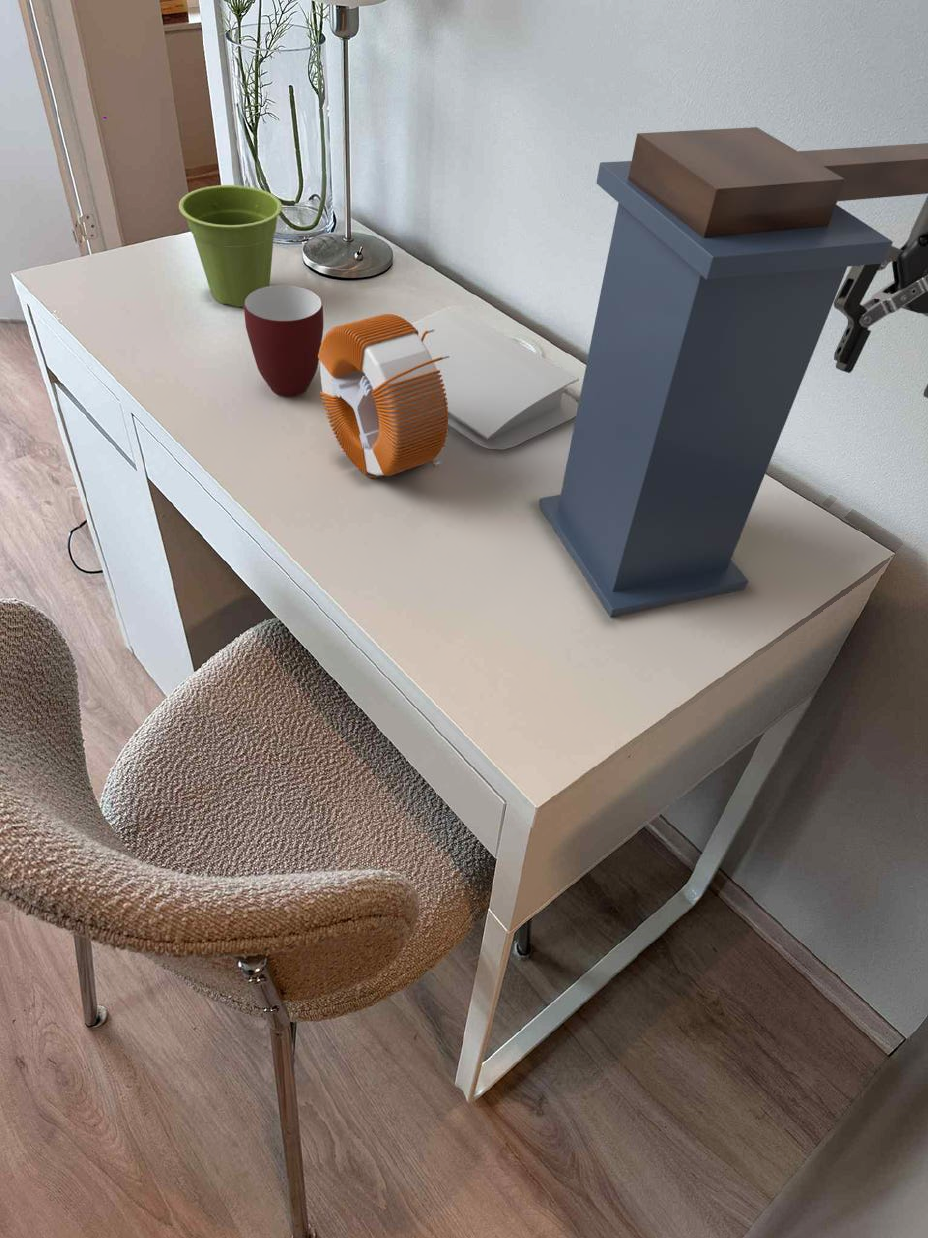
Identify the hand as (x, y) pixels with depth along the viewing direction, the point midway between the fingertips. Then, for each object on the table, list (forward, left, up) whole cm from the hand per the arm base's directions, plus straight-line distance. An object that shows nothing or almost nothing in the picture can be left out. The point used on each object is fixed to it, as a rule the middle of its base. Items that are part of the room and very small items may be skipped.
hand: (887, 384), depth 77 cm
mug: (+58, -15, -16) cm, 62 cm away
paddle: (+13, +4, +16) cm, 21 cm away
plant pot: (+68, -34, -16) cm, 77 cm away
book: (+37, -19, -16) cm, 44 cm away
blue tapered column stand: (+19, +6, -16) cm, 25 cm away
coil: (+45, -3, -16) cm, 48 cm away
